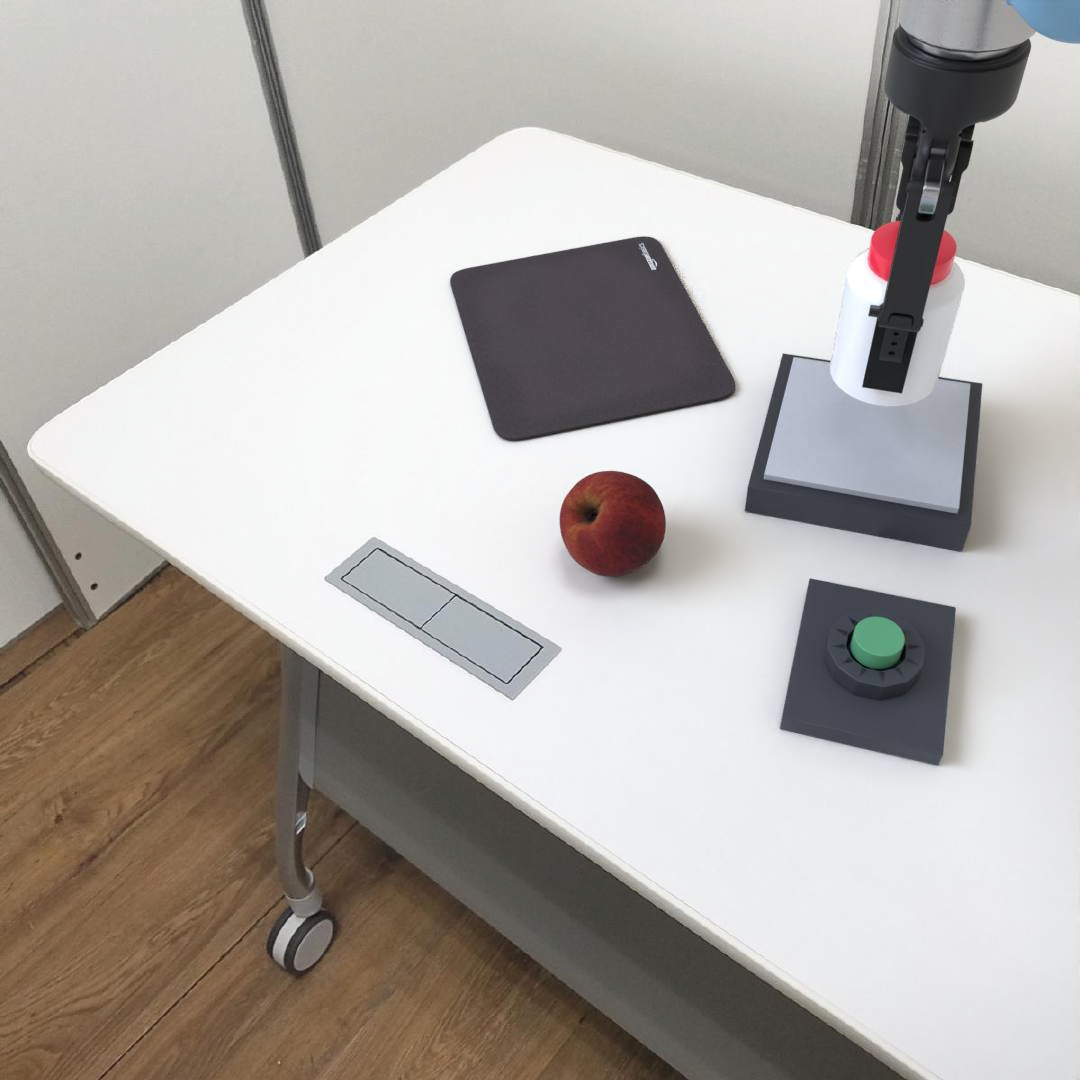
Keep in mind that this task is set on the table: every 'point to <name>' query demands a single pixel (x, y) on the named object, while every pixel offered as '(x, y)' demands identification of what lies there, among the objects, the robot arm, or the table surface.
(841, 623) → the button base
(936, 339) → the pill bottle
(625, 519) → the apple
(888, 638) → the green button
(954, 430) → the scale
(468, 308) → the mouse pad
